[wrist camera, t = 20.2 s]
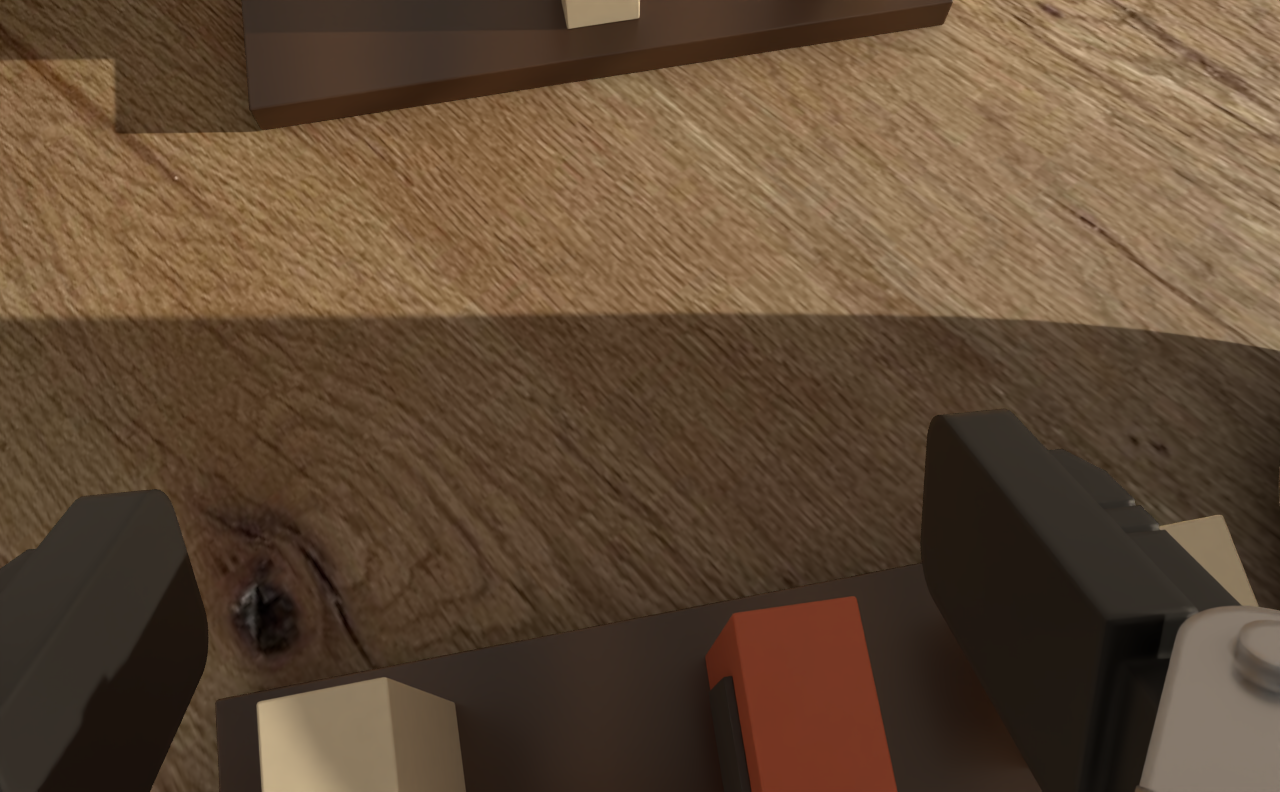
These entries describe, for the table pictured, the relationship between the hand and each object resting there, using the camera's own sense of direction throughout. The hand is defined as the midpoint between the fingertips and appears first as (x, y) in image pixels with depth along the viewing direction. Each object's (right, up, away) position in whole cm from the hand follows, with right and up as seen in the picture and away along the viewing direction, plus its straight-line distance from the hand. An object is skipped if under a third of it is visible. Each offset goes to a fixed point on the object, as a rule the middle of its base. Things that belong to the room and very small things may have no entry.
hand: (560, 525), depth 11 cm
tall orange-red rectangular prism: (+4, -8, +16) cm, 18 cm away
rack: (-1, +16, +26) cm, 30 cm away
